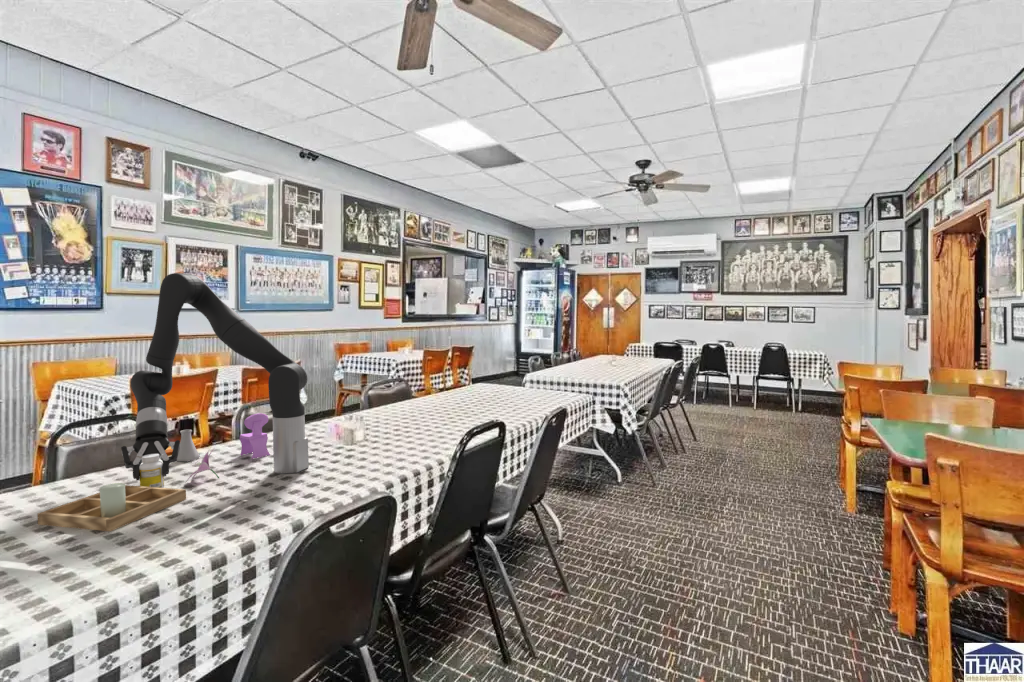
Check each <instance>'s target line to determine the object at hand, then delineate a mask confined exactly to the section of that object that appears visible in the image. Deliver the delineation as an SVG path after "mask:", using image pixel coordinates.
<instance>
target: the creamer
mask: <svg viewBox="0 0 1024 682" xmlns="http://www.w3.org/2000/svg"><path fill="white" fill-rule="evenodd" d="M125 485H126V483H124V482H115V483H108V484H105V485H102V486H100V487H99V492H100V509H101V517H107V518H111V517H114V516H116V515H119V514H121V513H124V512H126V495H125Z"/></svg>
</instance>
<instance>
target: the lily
mask: <svg viewBox="0 0 1024 682" xmlns="http://www.w3.org/2000/svg"><path fill="white" fill-rule="evenodd" d="M210 449H211V448H209V449H208V451H206V453H205V455H204V456H203V458H202V460H201V461H197V462H196V465H197V466H198V468H197V469H196V470H195V471H193V472H192V473H191V475H190V476H189V477H188V478H187V480H186V482H185V483H184V486H185V485H186V483H187V482H188V481H189V480H190V478H192V479H194V478H195V476H196V475H197V474H199V473H201V472H204V471H207V470H209V471H211V472H212V473H213V474H214V475H215V476H216V477H217V479H220V476H218V474H217V473H216V472H215V471H214V470H213V469H212V468H211V467H210V462H209V461H210V457H211V454H212V453H213V451H214V450H215V448H213V449H212V450H211V451H210ZM209 452H210V453H209ZM192 476H193V477H192Z"/></svg>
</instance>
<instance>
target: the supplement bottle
mask: <svg viewBox="0 0 1024 682" xmlns="http://www.w3.org/2000/svg"><path fill="white" fill-rule="evenodd" d="M139 476H140V478H139V486H145V487H159V488H165V480H164V478H165V477H163V461H161V460H160V457H159V454H148V455H144V456H142V463H141V465H140V466H139Z"/></svg>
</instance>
